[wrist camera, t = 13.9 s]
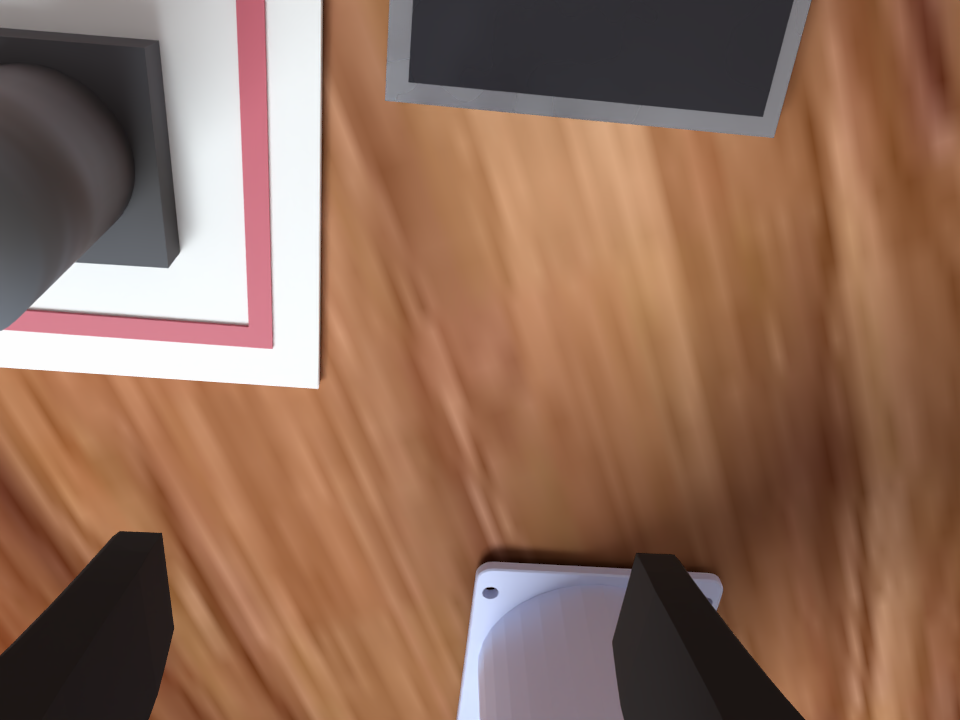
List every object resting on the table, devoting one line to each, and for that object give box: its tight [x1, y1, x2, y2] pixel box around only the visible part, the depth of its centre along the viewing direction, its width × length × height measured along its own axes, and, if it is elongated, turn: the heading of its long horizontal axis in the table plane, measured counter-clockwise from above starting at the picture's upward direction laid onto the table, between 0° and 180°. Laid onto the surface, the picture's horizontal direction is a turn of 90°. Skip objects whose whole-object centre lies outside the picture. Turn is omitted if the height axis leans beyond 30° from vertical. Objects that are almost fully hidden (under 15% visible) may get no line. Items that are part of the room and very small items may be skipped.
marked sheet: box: [0, 0, 323, 389], centre depth 19 cm, size 12×12×1 cm
